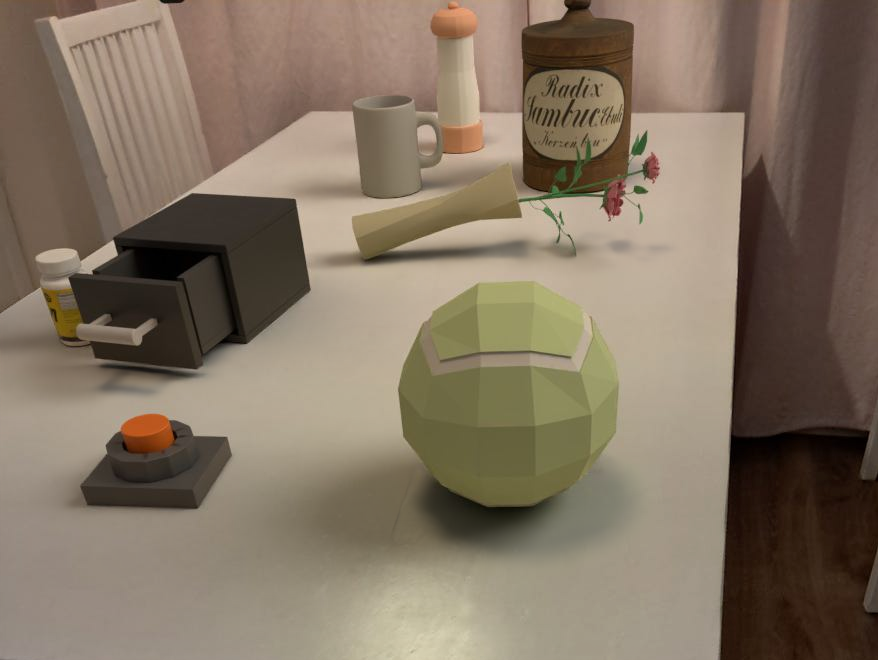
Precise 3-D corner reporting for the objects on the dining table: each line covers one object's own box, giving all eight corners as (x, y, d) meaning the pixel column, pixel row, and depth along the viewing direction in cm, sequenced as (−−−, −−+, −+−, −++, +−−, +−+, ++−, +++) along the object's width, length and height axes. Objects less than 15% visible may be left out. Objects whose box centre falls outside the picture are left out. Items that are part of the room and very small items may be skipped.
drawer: (172, 389, 83) (148, 304, 78) (67, 377, 86) (37, 294, 81) (265, 313, 96) (249, 236, 91) (171, 305, 99) (150, 229, 94)
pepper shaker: (428, 148, 147) (417, 3, 134) (462, 139, 150) (455, -4, 138) (458, 156, 142) (450, 7, 130) (492, 146, 146) (488, 0, 133)
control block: (86, 505, 71) (71, 465, 69) (129, 452, 77) (116, 414, 75) (198, 508, 70) (186, 468, 68) (232, 454, 76) (222, 416, 74)
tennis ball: (603, 437, 75) (613, 248, 65) (617, 545, 64) (631, 336, 54) (421, 441, 76) (403, 255, 66) (403, 548, 65) (378, 343, 55)
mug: (359, 199, 128) (348, 110, 120) (364, 182, 134) (354, 96, 127) (445, 195, 127) (439, 105, 120) (447, 178, 134) (441, 91, 126)
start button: (119, 456, 70) (112, 435, 69) (138, 433, 73) (131, 412, 72) (164, 457, 70) (158, 436, 69) (181, 434, 73) (175, 413, 71)
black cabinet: (247, 343, 93) (225, 245, 86) (140, 332, 96) (112, 237, 90) (311, 289, 103) (295, 198, 97) (212, 281, 106) (191, 192, 100)
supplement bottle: (59, 333, 97) (30, 251, 91) (106, 325, 98) (79, 243, 92) (61, 350, 93) (31, 266, 88) (109, 342, 94) (82, 258, 89)
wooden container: (515, 193, 126) (512, 0, 112) (530, 164, 137) (529, -16, 123) (624, 194, 124) (635, -3, 110) (630, 164, 135) (641, -20, 120)
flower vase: (388, 309, 117) (661, 229, 112) (374, 317, 106) (676, 229, 101) (358, 210, 112) (641, 122, 107) (340, 208, 101) (655, 110, 96)
